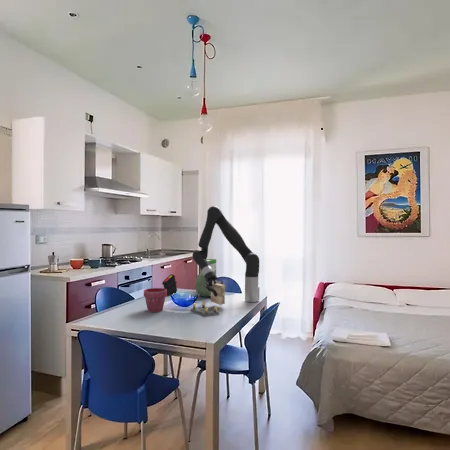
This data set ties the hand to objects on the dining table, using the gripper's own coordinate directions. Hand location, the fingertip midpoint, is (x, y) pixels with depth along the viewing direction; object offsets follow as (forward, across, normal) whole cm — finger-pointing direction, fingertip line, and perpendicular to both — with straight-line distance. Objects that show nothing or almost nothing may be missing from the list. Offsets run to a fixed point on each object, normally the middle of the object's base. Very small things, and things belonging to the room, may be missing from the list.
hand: (219, 295), depth 233 cm
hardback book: (-32, +26, +44) cm, 61 cm away
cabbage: (-18, +11, +29) cm, 36 cm away
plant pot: (-6, -38, +16) cm, 41 cm away
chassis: (+9, -15, +1) cm, 18 cm away
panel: (+2, 0, +5) cm, 5 cm away
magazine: (-31, -9, +42) cm, 53 cm away
